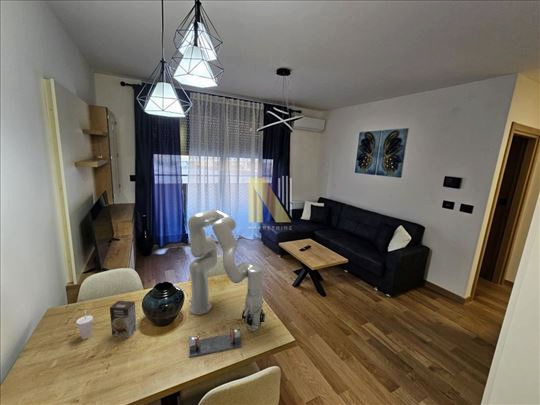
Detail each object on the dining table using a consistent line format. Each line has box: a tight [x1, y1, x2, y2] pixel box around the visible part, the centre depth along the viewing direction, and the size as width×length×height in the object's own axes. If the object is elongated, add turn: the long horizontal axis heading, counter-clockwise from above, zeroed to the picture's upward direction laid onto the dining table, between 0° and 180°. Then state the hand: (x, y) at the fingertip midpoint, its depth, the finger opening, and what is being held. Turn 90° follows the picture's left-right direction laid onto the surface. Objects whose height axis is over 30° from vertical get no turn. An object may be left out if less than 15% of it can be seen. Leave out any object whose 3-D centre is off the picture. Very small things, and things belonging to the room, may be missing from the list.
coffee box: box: [109, 300, 137, 338], centre depth 120 cm, size 9×6×16 cm
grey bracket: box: [188, 326, 242, 359], centre depth 115 cm, size 24×9×7 cm, turn 107°
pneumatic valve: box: [241, 308, 266, 332], centre depth 127 cm, size 6×12×12 cm, turn 78°
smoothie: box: [76, 310, 94, 339], centre depth 116 cm, size 6×6×14 cm
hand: (253, 320), depth 127 cm, fingers open, 6 cm apart
